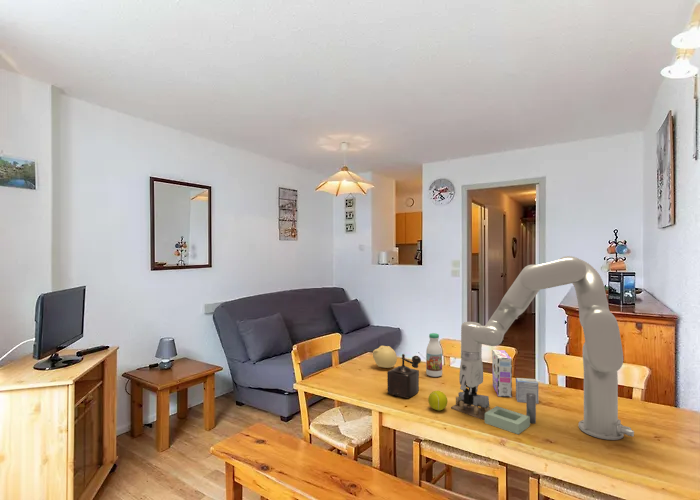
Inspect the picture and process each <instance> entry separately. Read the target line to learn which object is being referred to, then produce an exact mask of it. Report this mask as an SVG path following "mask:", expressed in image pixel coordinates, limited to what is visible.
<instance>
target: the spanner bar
mask: <svg viewBox="0 0 700 500" xmlns="http://www.w3.org/2000/svg"><path fill="white" fill-rule="evenodd" d="M457 393H458V397H459V403H460V401H464V393H463V391H459V392H457ZM464 404H466V403H464ZM474 405H476V406H478V407H479V408H481V407H485V408H487V407H490V398H489V395H483V394H478V393H477V394H472V406H474Z"/></svg>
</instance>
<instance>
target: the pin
mask: <svg viewBox="0 0 700 500" xmlns="http://www.w3.org/2000/svg"><path fill="white" fill-rule="evenodd" d="M525 404H526V411H525V412H526V414H525V415H527V416H530V425H535V424H536V423H537V421H536V419H537V416H536V415H537V412H536V411H537V408H536V407H537V404H536V395H535V394H533V393H527V394H526V403H525Z"/></svg>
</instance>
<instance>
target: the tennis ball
mask: <svg viewBox="0 0 700 500" xmlns="http://www.w3.org/2000/svg"><path fill="white" fill-rule="evenodd" d="M428 395H429V396H428V397H427V398H428V399H427V400H428V404H429V406H430V407H431V409H433V410H435V411H443V410H444V409H445V408H447V405H448V397H447V395H446V394H445V393H444V392H443V391H442V390H441V391H440V390H434V391H432V392H430V394H428Z"/></svg>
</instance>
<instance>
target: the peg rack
mask: <svg viewBox="0 0 700 500" xmlns="http://www.w3.org/2000/svg"><path fill="white" fill-rule="evenodd" d="M450 407H451V408H450V409H452V410H453V411H457V412H460V413H463V414H466V415H469V416H472V417H474V418H477V419H480V420H483V421H485V413H486V412H488V411H489V410H491V406H489V407H487V408H485V407H479V406H476V405H469V404H464V401H460V403H459V396H455V404H454V405H452V406H450Z"/></svg>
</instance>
